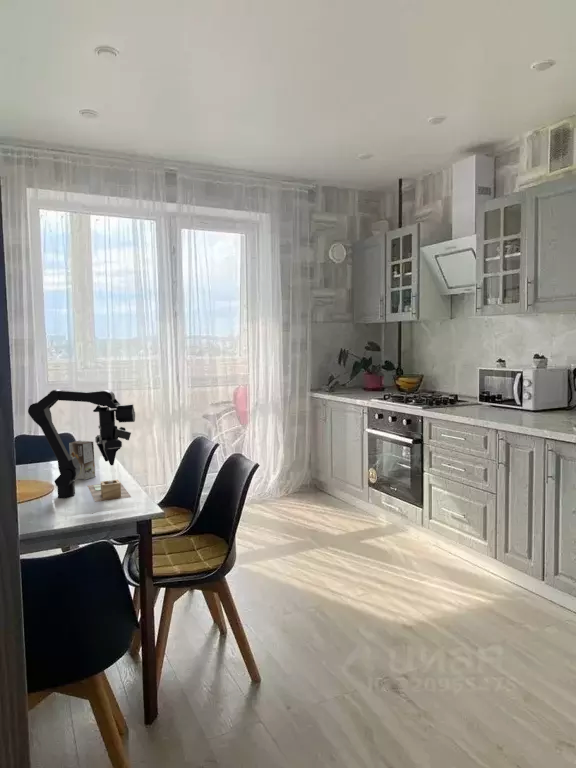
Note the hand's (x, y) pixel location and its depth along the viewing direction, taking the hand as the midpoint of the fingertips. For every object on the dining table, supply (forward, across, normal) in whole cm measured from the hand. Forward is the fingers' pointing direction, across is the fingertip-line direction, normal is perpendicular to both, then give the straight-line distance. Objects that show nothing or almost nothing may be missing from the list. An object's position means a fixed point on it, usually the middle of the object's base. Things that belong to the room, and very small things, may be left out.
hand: (109, 463), depth 219 cm
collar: (+12, -2, 0) cm, 12 cm away
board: (+13, +5, 0) cm, 14 cm away
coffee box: (+13, +42, +3) cm, 44 cm away
